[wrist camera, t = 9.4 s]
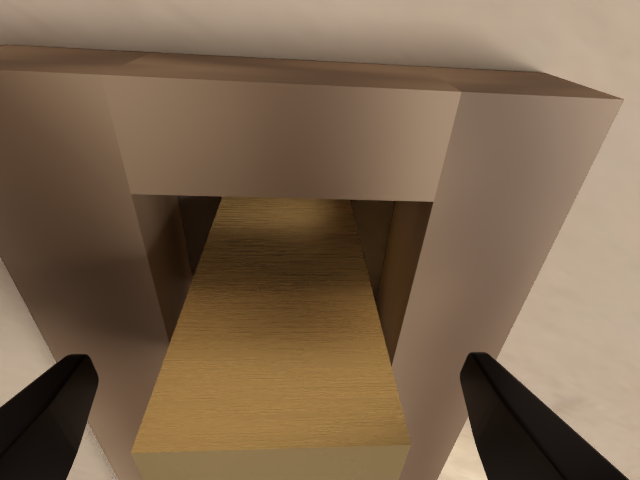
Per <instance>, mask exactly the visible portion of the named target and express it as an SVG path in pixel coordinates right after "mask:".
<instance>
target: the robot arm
mask: <svg viewBox="0 0 640 480" xmlns="http://www.w3.org/2000/svg"><path fill="white" fill-rule="evenodd" d="M98 383H99V377H98V374H97V371H96V369H95V367H94V365H93V362H92V360H91V358H90V356H88V355H87V354H70V355H67V356H65V357H64V358H62V359H61V360H60V361H58V362H57V363H56V364H55V365H53V366H52V367H51V368H50V369H48V370H47V371H46V372H45V373H43V374H42V375H41V376H39V377H38V378H37V379H36V380H34V381H33V382H32V383H31V384H29V385H28V386H27V387H25V388H24V389H23V390H22V391H20V392H19V393H18V394H17V395H15V396H14V397H13V398H12V399H10V400H9V401H8V402H6V403H5V404H4V405H3V406H1V407H0V480H66V478H67V476H68V474H69V471H70V469H71V467H72V464H73V462H74V459H75V457H76V454H77V452H78V449H79V446H80V443H81V440H82V436H83V433H84V430H85V427H86V423H87V420H88V417H89V414H90V410H91V407H92V404H93V401H94V398H95V394H96V391H97V388H98ZM460 383H461V387H462V391H463V396H464V400H465V404H466V408H467V412H468V416H469V420H470V424H471V428H472V432H473V436H474V440H475V444H476V447H477V450H478V453H479V456H480V459H481V461H482V464H483V467H484V470H485V473H486V476H487V478H488V480H629V479H628V478H627V477H626V476H624V475H623V474H622V473H621V472H620V471H619V470H618V469H617V468H616V467H614V466H613V465H612V464H611V463H610V462H609V461H608V460H607V459H606V458H604V457H603V456H602V455H601V454H600V453H599V452H598V451H597V450H595V449H594V448H593V447H592V446H591V445H590V444H589V443H588V442H587V441H585V440H584V439H583V438H582V437H581V436H580V435H579V434H578V433H576V432H575V431H574V430H573V429H572V428H571V427H570V426H569V425H568V424H566V423H565V422H564V421H563V420H562V419H561V418H560V417H559V416H558V415H556V414H555V413H554V412H553V411H552V410H551V409H550V408H549V407H547V406H546V405H545V404H544V403H543V402H542V401H541V400H540V399H539V398H537V397H536V396H535V395H534V394H533V393H532V392H531V391H530V390H528V389H527V388H526V387H525V386H524V385H523V384H522V383H521V382H520V381H518V380H517V379H516V378H515V377H514V376H513V375H512V374H511V373H510V372H508V371H507V370H506V369H505V368H504V367H503V366H502V365H501V364H499V363H498V362H497V361H496V360H495V359H494V358H493V357H492V356H491V355H489V354H488V353H486V352H470V353H469V354H468V355H467V357H466V360H465V362H464V365H463V367H462V369H461V372H460Z"/></svg>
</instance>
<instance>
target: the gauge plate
mask: <svg viewBox="0 0 640 480" xmlns="http://www.w3.org/2000/svg"><path fill="white" fill-rule="evenodd" d="M623 101H624V99H621V98H618V97H615V96H612V95H609V94H606V93H603V92H600V91H597V90H594V89H591V88H588V87H585V86H582V85H579V84H576V83H573V82H571V81H568V80H565V79H562V78H559V77H556V76H553V75H550V74H547V73H539V72H520V71H501V70H481V69H462V68H443V67H424V66H404V65H385V64H366V63H347V62H328V61H308V60H289V59H270V58H251V57H232V56H212V55H193V54H174V53H155V52H136V51H116V50H97V49H78V48H59V47H40V46H20V45H3V46H0V256H1V258H2V260H3V262H4V264H5V266H6V268H7V270H8V271H9V273H10V275H11V277H12V279H13V281H14V283H15V285H16V287H17V288H18V290H19V292H20V294H21V296H22V298H23V300H24V302H25V304H26V305H27V307H28V309H29V311H30V313H31V315H32V317H33V319H34V321H35V322H36V324H37V326H38V328H39V330H40V332H41V334H42V336H43V338H44V339H45V341H46V343H47V345H48V347H49V349H50V351H51V353H52V355H53V356H54V358H55V360H56V362H58V361H60V360H61V359H62V358H64V357H65V356H67V355H70V354H87V355H88V356H90V358H91V360H92V362H93V365H94V367H95V369H96V371H97V374H98V377H99V383H98V388H97V391H96V394H95V398H94V401H93V404H92V407H91V410H90V414H89V417H88V420H87V421H88V423H89V424H90V426H91V428H92V430H93V432H94V434H95V436H96V438H97V440H98V441H99V443H100V445H101V447H102V449H103V451H104V453H105V455H106V457H107V458H108V460H109V462H110V464H111V466H112V468H113V470H114V472H115V474H116V475H117V477H118V479H119V480H143V479H142V477H141V474H140V472H139V470H138V468H137V466H136V464H135V461H134V459H133V457H132V455H131V450H132V448H133V445H134V442H135V439H136V436H137V434H138V431H139V428H140V425H141V423H142V420H143V417H144V414H145V411H146V409H147V406H148V403H149V400H150V397H151V395H152V392H153V389H154V386H155V383H156V381H157V378H158V375H159V372H160V369H161V367H162V364H163V361H164V358H165V356H166V353H167V350H168V347H169V344H170V342H171V339H172V336H173V333H174V330H175V328H176V325H177V322H178V319H179V316H180V314H181V311H182V308H183V305H184V302H185V300H186V297H187V294H188V291H189V289H190V286H191V283H192V280H193V279H192V273H191V268H190V262H189V256H188V251H187V245H186V240H185V234H184V228H183V223H182V217H181V211H180V206H179V200H178V195H183V196H224V197H264V198H305V199H345V200H386V201H395V204H394V210H393V215H392V220H391V226H390V231H389V236H388V241H387V247H386V252H385V257H384V263H383V268H382V273H381V278H380V284H379V289H378V294H377V300H376V307H377V311H378V315H379V319H380V323H381V327H382V331H383V335H384V339H385V343H386V347H387V351H388V355H389V359H390V363H391V367H392V371H393V375H394V379H395V383H396V387H397V391H398V395H399V399H400V403H401V407H402V411H403V414H404V418H405V422H406V426H407V430H408V434H409V438H410V442H411V447H410V450H409V452H408V455H407V458H406V461H405V464H404V467H403V469H402V472H401V475H400V478H399V480H437V479H438V477H439V475H440V473H441V471H442V469H443V466H444V464H445V462H446V460H447V458H448V456H449V454H450V452H451V450H452V448H453V446H454V444H455V442H456V440H457V438H458V436H459V434H460V432H461V430H462V428H463V426H464V424H465V422H466V420H467V418H468V412H467V408H466V404H465V400H464V396H463V391H462V387H461V383H460V372H461V369H462V367H463V365H464V362H465V360H466V357H467V355H468V354H469V353H470V352H486V353H488V354H489V355H491V356H492V357H493V358H494V359H495V360H496V359H497V357H498V355H499V353H500V351H501V349H502V347H503V345H504V343H505V341H506V339H507V336H508V334H509V332H510V330H511V328H512V326H513V324H514V322H515V320H516V318H517V316H518V314H519V312H520V310H521V308H522V306H523V304H524V302H525V300H526V298H527V296H528V294H529V292H530V290H531V288H532V286H533V284H534V282H535V280H536V278H537V276H538V274H539V272H540V269H541V267H542V265H543V263H544V261H545V259H546V257H547V255H548V253H549V251H550V249H551V247H552V245H553V243H554V241H555V239H556V237H557V235H558V233H559V231H560V229H561V227H562V225H563V223H564V221H565V219H566V217H567V215H568V213H569V211H570V209H571V207H572V204H573V202H574V200H575V198H576V196H577V194H578V192H579V190H580V188H581V186H582V184H583V182H584V180H585V178H586V176H587V174H588V172H589V170H590V168H591V166H592V164H593V162H594V160H595V158H596V156H597V154H598V152H599V150H600V148H601V146H602V144H603V142H604V139H605V137H606V135H607V133H608V131H609V129H610V127H611V125H612V123H613V121H614V119H615V117H616V115H617V113H618V111H619V109H620V107H621V105H622V103H623Z"/></svg>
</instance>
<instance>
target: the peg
mask: <svg viewBox="0 0 640 480" xmlns="http://www.w3.org/2000/svg"><path fill="white" fill-rule="evenodd" d="M410 447H411V442H410V438H409V434H408V430H407V426H406V422H405V418H404V414H403V411H402V407H401V403H400V399H399V395H398V391H397V387H396V383H395V379H394V375H393V371H392V367H391V363H390V359H389V355H388V351H387V347H386V343H385V339H384V335H383V331H382V327H381V323H380V319H379V315H378V311H377V307H376V303H375V299H374V295H373V291H372V287H371V283H370V279H369V276H368V272H367V268H366V264H365V260H364V256H363V252H362V248H361V244H360V240H359V236H358V232H357V228H356V224H355V220H354V216H353V212H352V208H351V204H350V200H345V199H305V198H264V197H224V196H222V199H221V202H220V205H219V208H218V210H217V213H216V216H215V219H214V221H213V224H212V227H211V230H210V233H209V235H208V238H207V241H206V244H205V247H204V249H203V252H202V255H201V258H200V261H199V263H198V266H197V269H196V272H195V275H194V277H193V280H192V283H191V286H190V289H189V291H188V294H187V297H186V300H185V302H184V305H183V308H182V311H181V314H180V316H179V319H178V322H177V325H176V328H175V330H174V333H173V336H172V339H171V342H170V344H169V347H168V350H167V353H166V356H165V358H164V361H163V364H162V367H161V369H160V372H159V375H158V378H157V381H156V383H155V386H154V389H153V392H152V395H151V397H150V400H149V403H148V406H147V409H146V411H145V414H144V417H143V420H142V423H141V425H140V428H139V431H138V434H137V436H136V439H135V442H134V445H133V448H132V450H131V455H132V457H133V459H134V461H135V464H136V466H137V468H138V470H139V472H140V474H141V477H142V479H143V480H399V478H400V475H401V472H402V469H403V467H404V464H405V461H406V458H407V455H408V452H409V450H410Z"/></svg>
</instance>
